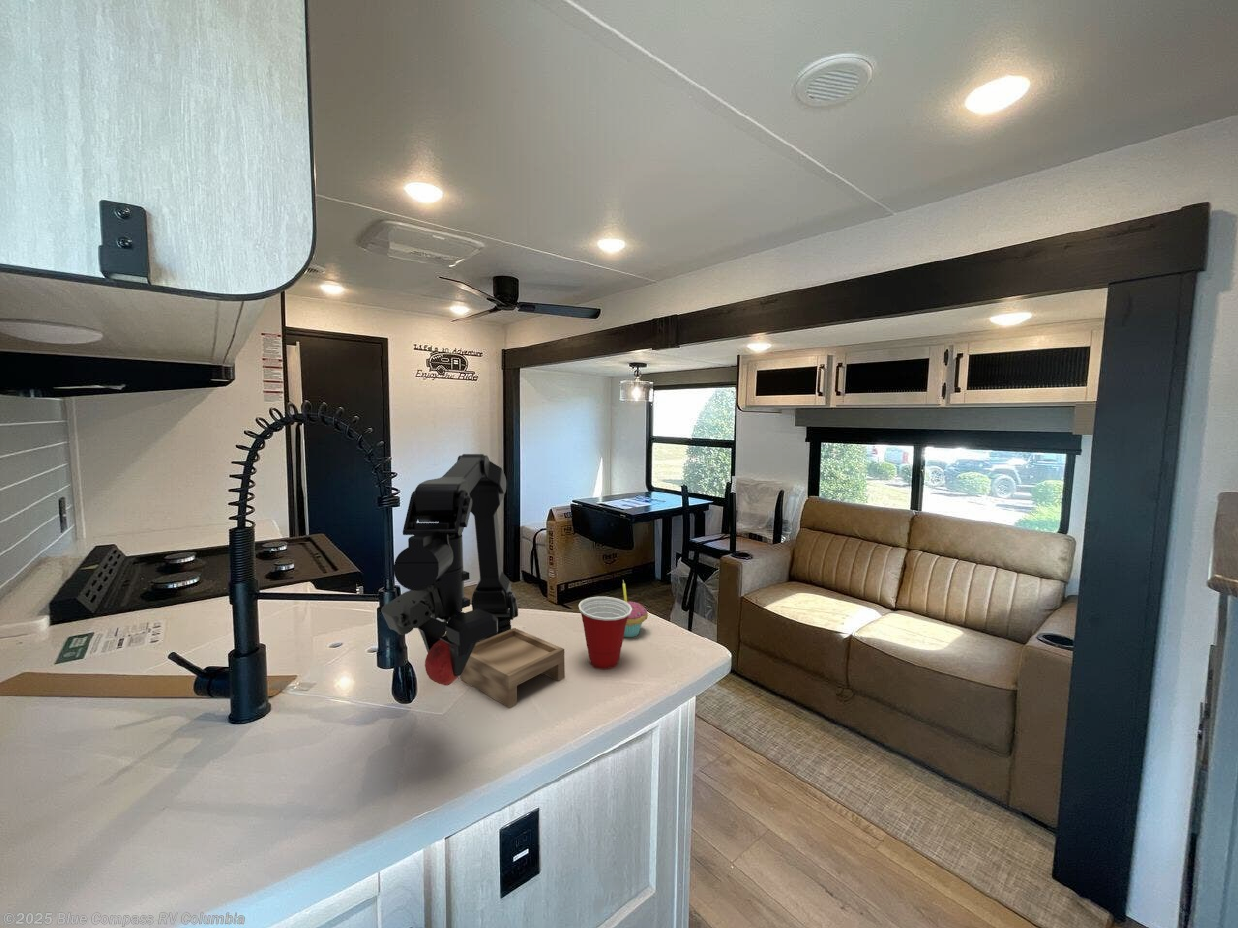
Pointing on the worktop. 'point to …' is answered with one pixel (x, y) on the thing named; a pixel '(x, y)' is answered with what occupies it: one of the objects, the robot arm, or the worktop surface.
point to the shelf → (511, 664)
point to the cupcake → (634, 617)
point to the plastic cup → (604, 629)
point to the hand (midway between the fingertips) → (446, 668)
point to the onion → (440, 664)
